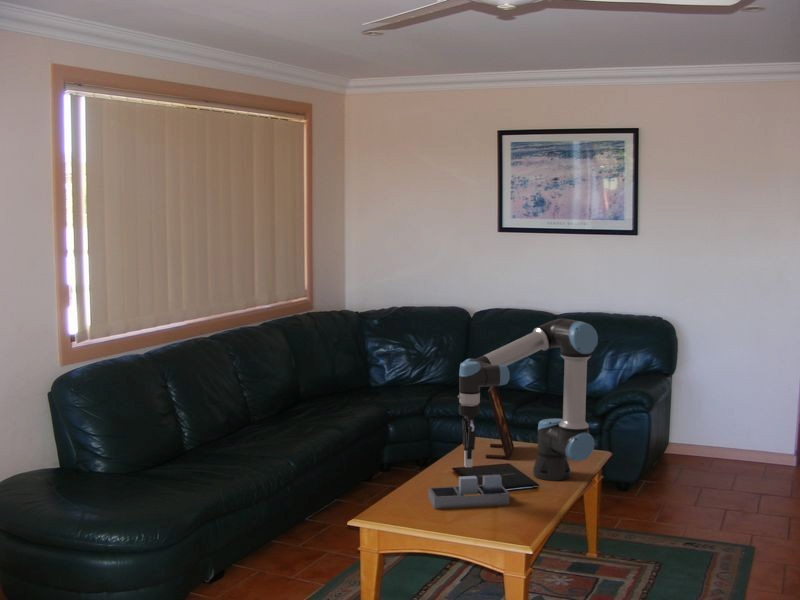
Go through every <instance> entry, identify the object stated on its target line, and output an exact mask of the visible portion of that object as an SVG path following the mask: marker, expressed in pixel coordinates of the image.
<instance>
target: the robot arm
mask: <svg viewBox="0 0 800 600" xmlns="http://www.w3.org/2000/svg"><path fill="white" fill-rule="evenodd" d="M598 340H599V339H598V333H597V330H596V329H595V328H594V327H593V325H591V324H589V323H588V322H584V321H580V320H574V319H568V318H557V319H554V320H551V321H549V322H545V323H543V324H541V325H539V326H537V327H535V328H534V329H533V330H532V332H530V333H528V334H526V335H524V336H522V337H520V338H518V339H516V340H514V341H512V342H510V343H507V344H505V345H502V346H501V347H498V348H497V349H495V350H492V351H490V352H488V353H486V354H484V355H482V356H479V357H477V358H467V359H465V360H464V361H463V362H460V365H459V371H458V372H459V373H458V377H459V378H458V381H459V383H458V384H459V385H458V389H459V394H458V395H457V398H458V399H459V400H458V401H459V404H458V414H459V415H460V416H463V418H462V419H461V424H462V446H463V451H464V456H463V457H464V460H463V463H464V467H465V468H473V458H474V457H473V456H474V455H473V454H474V453H473V452H474V451H475V444H476V434H477V425H476V420H475V417H477V416H479V415H480V403H481V399H480V398H481V388H484V387H490V386H497V387H500V386H504V385H507V384H508V383H509V381H510V369H509V367H508V366H509V365H512V364H514V363H516V362H518V361H521V360H523V359H524V358H526V357H529V356H530V355H532V354H535V353H537V352H539V351H541V350H542V351H547V350H549V349H552V348H560V357H561V358H562V359H563V360H564V363H563V364H564V371H563V373H564V375H563V399H562V401H563V402H562V403H563V404H562V418H545V419H541V420H540V421H539V422H538V426H537V457H536V460H535V463H534V465H533V468H532V475H533V477H535V478H537V479H540V480H544V481H565V480H567V479H570V478H571V476H572V475H571V473H572V471H571V467H570V463H569V461H568V459H569V460H570V461H575V462H581V461H584V460H586V459H588V458H589V456H591V455H592V453H593V451H594V449H595V439H594V437H593V435H591V433H590V425H589V424H588V422H586V412H587V411H586V407H587V406H586V405H587V403H586V402H587V400H586V399H587V377H588V376H587V373H588V372H587V371H588V360H589V359H591V357H592V352H594V351H595V348H597V346H598Z"/></svg>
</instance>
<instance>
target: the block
mask: <svg viewBox="0 0 800 600" xmlns="http://www.w3.org/2000/svg"><path fill="white" fill-rule="evenodd" d="M478 481H479V480H478V477H477V476H476V475H468V476H467V475H466V476H458V485H459V493H460V494H461V495H464V494H478V485H479V482H478Z"/></svg>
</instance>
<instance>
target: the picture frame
mask: <svg viewBox="0 0 800 600" xmlns="http://www.w3.org/2000/svg"><path fill="white" fill-rule="evenodd" d="M498 387H499V386H489V388H488V390H487V394H488V398H489V403H490V406H491V408H492V409H491V410H492V413H493V417H494V421H495V423H496V427H497V431H498V434H499V438H500V442H501V443H490V444H489V447H490V448H502V449H503V452H504V454H501V455H500V454H485V459H501V460H502V459H503V460H506V461H508V460H509V461H510V460H511V457H512V453H513V451H514V448H515V445H514V441H513V439H512V436H511V435H512V434H511V431H510V427H509V424H508V420H507V418H506V417H507V416H506V413H505V410H504V405H503V402H502V399H501V396H500V391H499V388H498Z"/></svg>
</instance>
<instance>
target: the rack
mask: <svg viewBox="0 0 800 600" xmlns="http://www.w3.org/2000/svg"><path fill="white" fill-rule="evenodd" d="M502 478H503V477H502V476H501V475H500V474H488V475H487V474H486V475H482V484H478V494H464V495H461V494H460V493H459V484H457V485H456V486H438V487H435V486H434V487H428V491H427V492H428V493H427V495H428V497H427V498H428V500H429V502H430V504H431V505H432V507H433V510H437V509H456V508H457V509H458V508H472V507H474V508H475V507H492V506H509V505H510V492H509V491H508V490H507V489H506V488H505V487H504V486H503V481H502V480H503V479H502Z"/></svg>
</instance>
